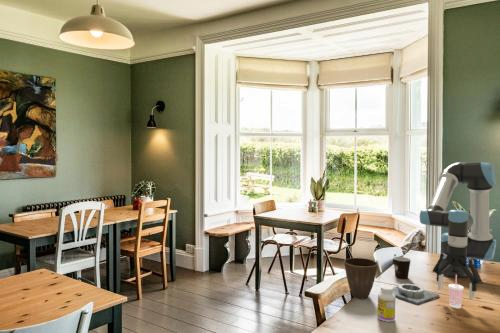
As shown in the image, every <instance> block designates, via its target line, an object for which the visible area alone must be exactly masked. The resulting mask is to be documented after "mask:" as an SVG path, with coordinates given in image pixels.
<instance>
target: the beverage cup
mask: <svg viewBox="0 0 500 333" xmlns="http://www.w3.org/2000/svg"><path fill="white" fill-rule="evenodd" d="M457 278H458V277H457V275H456V277H455V282H454V283H449V284H448V285H447V286H448V299H449V300H448V301H449V302H448V304H449V307H451V308H454V309H462V304H463V303H462V302H463V301H462V300H463V293H464V292H463V291H464V286H463V285H461V284H458V281H457V280H458V279H457Z"/></svg>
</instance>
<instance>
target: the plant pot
mask: <svg viewBox="0 0 500 333" xmlns="http://www.w3.org/2000/svg"><path fill="white" fill-rule="evenodd" d="M343 263H344V270H345V275H346V280H347V283H348V287H349V290H350V293H351V296H352V297H354V298H355V299H356V298H357V299H368V298H369V297H370V294H371V292H372V289H373V286H374V282H375V280H376V275H377V274H376V273H377V269H378V262H376V261H375V260H372V259H368V258H361V257H353V258H352V257H351V258H350V257H349V258H346V259H344V262H343Z"/></svg>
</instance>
